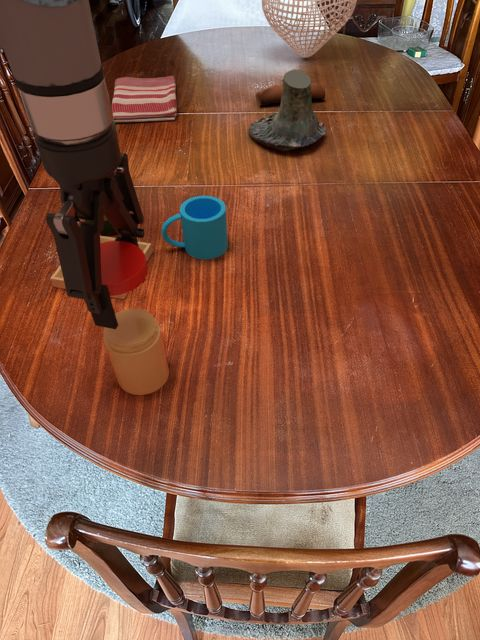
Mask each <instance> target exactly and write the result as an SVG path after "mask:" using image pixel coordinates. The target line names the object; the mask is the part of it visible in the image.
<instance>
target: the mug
mask: <svg viewBox="0 0 480 640" xmlns="http://www.w3.org/2000/svg"><path fill="white" fill-rule="evenodd" d="M178 220H180V222H181V229H182V230H181V231H182V236H183V237H182V238H183V242H182V241H178V240H174V239H172V238H171V237H170V236H169V235H168V228H169V226H170V225H172V224H173V223H174V222H176V221H178ZM227 223H228V221H227V206H226V204H225V202H224V201H223V200H221V199H220V198H219V197H218V198H217V197H215V196H213V195H198V196H193V197H191V198H188V199H186V200H185V201H183V202H182V203H181V205H180V206H179V213H176V214H174V215H172V216H170V217H169V218H168V219H166V220H165V221H164V222H163V224H162V226H161V236H162V238H163V240H164V241H165V242H166V243H167V244H169V245H171V246H173V247H177V248H184V249H185V250H184V251H185V252H186V253H187V254H188V255H189V256H190V257H192V258H195V259H196V260H197V259H198V260H212V259H216V258H219V257H221V256H222V255H224V254H225V253H226V252H227V250H228V248H229V239H228V224H227Z"/></svg>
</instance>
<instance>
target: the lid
mask: <svg viewBox="0 0 480 640" xmlns="http://www.w3.org/2000/svg"><path fill="white" fill-rule="evenodd" d="M100 249H101V280H102V285H106V286H107V288H108V292H109V295H110V296H116V295H121V294H124V293H127V292H128V293H129V292H131V291H134V290H135V289H137V288H138V287H140V285H142V284H143V283H142V282H143V281H144V280H145V278H146V279H147V276H148V270H149V266H148V261H146V257H145V254H144V252H143V251H142V250H141V249H140V248H139V247H138V246H136V245H134V244H132V243H129V242H124V241H109V242H104V243H100ZM145 281H146V280H145ZM145 281H144V282H145Z"/></svg>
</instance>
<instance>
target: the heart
mask: <svg viewBox="0 0 480 640" xmlns="http://www.w3.org/2000/svg"><path fill="white" fill-rule="evenodd" d="M285 1H286V0H283V2H282V1H281V0H261V9H262V12H263V15H264V17H265V19H266V21H267V23H268V25H269V26H270V28H271V29H272V30H273V31H274V32H275V33H276V34H277V36H279V37H280V38H281V39H282V40H283V41H284V43H286V44H287V45H288V46H289V47H290V48H291V50H292V51H294V52H295V54H297V55H298V56H300V57H302V58H310V57H312V56H313V55H315V54H316V53H317V52H318V51H319V50H320V49H321V48H322V47H323V46H325V44H327V42H328V41H329V40H331V38H333V37H334V36H335V35H336V34H337V33H338V32H339V31H340V30H341V29H342V28H343V27H344V26H345V25H346V23H347V22H349V20H350V18H351V17H352V15H353V13H354V11H355V8H356V6H357V0H332V3H331V0H292V3H290V1H291V0H287V3H286V2H285ZM296 2H297V3H296ZM300 2H301V5H300ZM305 2H306V5H305ZM309 2H310V4H309ZM327 2H328V4H327ZM323 3H324V5H322V4H323ZM342 4H343V5H342ZM346 4H347V5H346ZM318 5H319V6H318ZM332 6H333V7H332ZM285 7H286V9H285ZM336 7H338V8H337V9H336ZM290 8H291V10H290ZM295 8H296V11H295ZM300 8H301V11H300ZM328 8H329V9H328ZM304 9H305V11H304ZM309 9H310V10H309ZM275 11H276V13H275ZM299 11H300V12H299ZM279 13H280V14H279ZM284 14H285V15H284ZM289 14H290V17H288V16H289ZM294 15H296V16H295V18H293V17H294ZM327 15H329V17H327ZM299 16H300V17H299ZM323 17H324V18H323ZM322 18H323V19H322ZM288 21H289V22H288ZM316 22H317V23H316ZM318 22H319V23H318ZM321 27H322V28H323V29H321ZM328 27H329V28H328ZM294 28H295V29H294ZM299 28H300V29H299ZM316 28H318V29H316ZM310 33H311V34H310ZM314 33H316V34H314ZM296 34H297V35H296ZM313 37H314V38H313ZM297 38H298V39H297ZM301 38H302V39H301Z"/></svg>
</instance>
